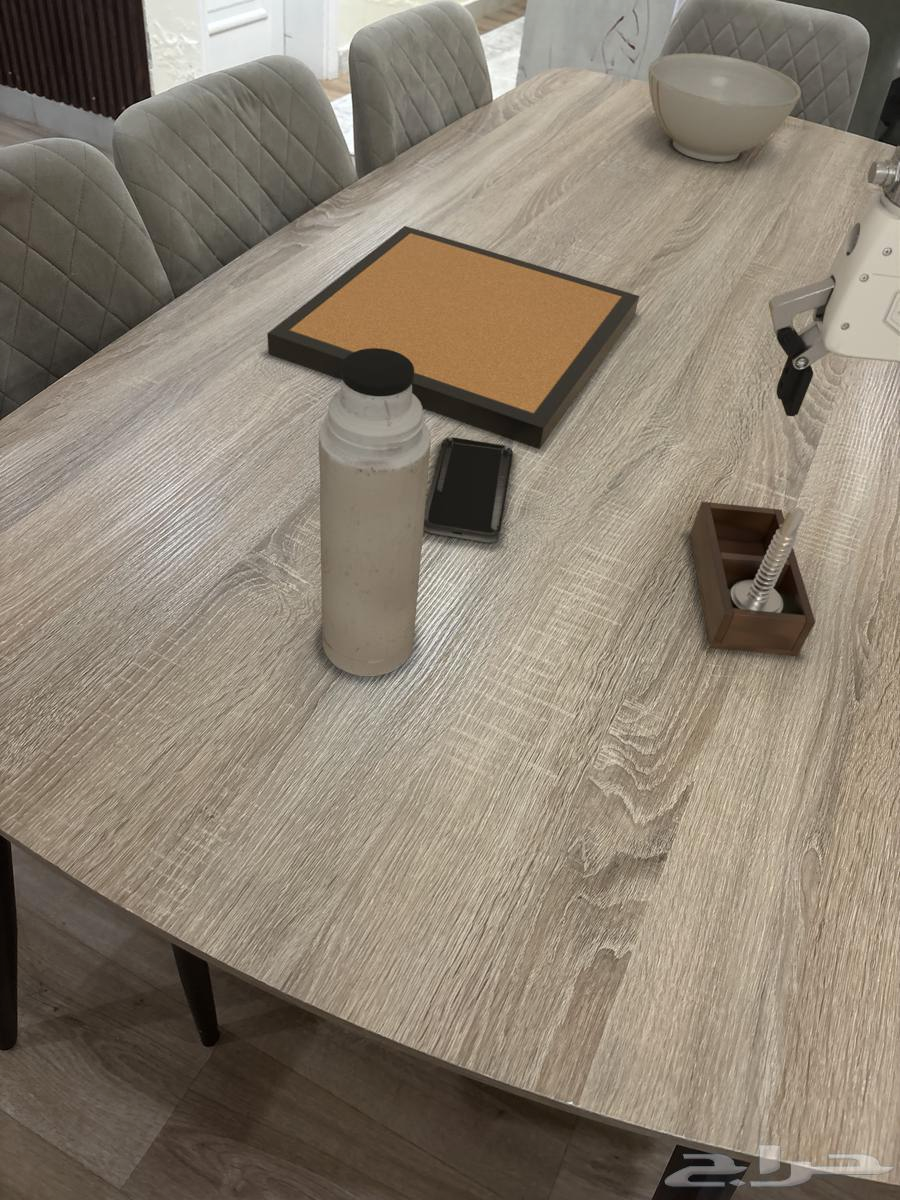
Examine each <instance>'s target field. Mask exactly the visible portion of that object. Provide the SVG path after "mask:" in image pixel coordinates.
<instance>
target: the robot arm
mask: <svg viewBox="0 0 900 1200" xmlns="http://www.w3.org/2000/svg"><path fill="white" fill-rule="evenodd" d="M895 147H896V148H895V150H894V153H893V155H892V157H891V158H890V159H886V160H885V159H884V161H882V160H873V161H872V163H871V164H870V166H869V169H868V173H867V183H868V184H872V185H873V184H874V185H878V186H879V187H880V188H882V190H881V191H879V190H877V191H874V192H872V194H871V195H870V196H869V198H868V199H867V201H866V202H865V204H864V206H863V207H862V209H861V210H860V211H859V213H858V215H857V217H856V218H855V220H854V221H853V224H852V225H851V227H850V228H849V230H848V232H847V234H846V235H845V238H844V239H843V241H842V244H841V245H840V248H839V249H838V251H837V253H836V255H835V257H834V259H833V261H832V263H831V266H830V268H829V269H828V272H827V274H826V277H825V278H824V279H823V280H820V281H817V282H813V283H812V284H808V285H805V286H802V287H799V288H795V289H792V290H791V291H788V292H784V293H781V294H779V295H776V296H773V297H772V298H770V300H768V301H769V302H768V309H769V312H770V317H771V322H772V327H773V332H774V335H775V337H776V340H777V342H778V344H779V345H780V347H781V348H782V350H783V351H784V353H785V354H786V356H787V358H786V361H785V363H784V367H783V369H782V371H781V374H780V376H779V380H778V383H777V386H776V396H777V398H778V400H780V401H781V404H782V407H783V409H784V413H785V416H786V417H796V416H798V415H799V413H800V410H801V407H802V405H803V403H804V400H805V397H806V394H807V392H808V390H809V387H810V384H811V382H812V379H813V377H814V370H813V368H812V365H813V364H815V363H816V362H818V361H819V360H820V359H821V358H824V357H825V356H826V355H828V354H829V353H830V354H833V355H835V356H838V357H842V358H849V359H858V360H869V361H878V362H879V361H882V362H892V363H900V145H897V146H895ZM811 310H813V311H812V320H813V321H811V322H810V323H809V324H807V325H806V326H804V327H803V328H802V329H800V330H798V331H797V330H796V328H794V325H793V324H794V323H793V320H794V318H795V317H796V316H797V315H799V314H802V313H805V312H808V311H811Z"/></svg>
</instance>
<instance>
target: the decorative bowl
mask: <svg viewBox="0 0 900 1200" xmlns="http://www.w3.org/2000/svg"><path fill="white" fill-rule="evenodd" d="M648 88H649V95H650V100H651V103H652V109H653V111H654V113H655V117H656V118H657V120H658V123H659V124H660V126H661V127H662V129H663V130H664V132H665V133H666V134H667V135H668V136H669V137H670V138H671V139H672V146H673V147H674V149H675V150H677V151H678V152H679V153H681V154H683V155H685V156H687V157H690V158H693V159H695V160H696V159H697V160H701V161H705V162H714V163H715V162H716V163H723V162H724V163H725V162H730V161H733V160H736V159H737V158H738V157H739V156H740V154H741V153H742V152H746V151H748V150H750V149H752V148H754V147H756V146H758V145H759V144H761V143H762V142H764V141H766V140H767V139H768V138H769V137H770V136H772V134H774V133H775V132H776V131H777V130H778V129H779V128H780V127H781V126H782V125H783V124H784V122H785V121H786V120H787V118H788V117H789V116H790V114H791V113H792V111H793V110H794V109H795V107H796V105H797V104H798V103H799V100H800V98H801V96H802V90H801V87H800V86H799V84H798V83H797V82H796V81H795V80H793V79H792V78H791V77H789V76H788V75H786V74H784V73H783V72H781V71H778V70H776V69H774V68H771V67H768V66H766V65H763V64H760V63H756V62H754V61H749V60H746V59H741V58H737V57H732V56H726V55H719V54H712V53H700V52H699V53H698V52H697V53H695V52H693V53H692V52H691V53H690V52H689V53H688V52H686V53H685V52H684V53H674V54H667V55H663V56H659V57H658V58H655V59H654V60H653V61H652V62H651V63H650V64H649V67H648Z"/></svg>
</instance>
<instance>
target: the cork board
mask: <svg viewBox="0 0 900 1200" xmlns="http://www.w3.org/2000/svg"><path fill="white" fill-rule="evenodd" d="M639 299H640V295H638V294H634V293H630V292H628V291H624V290H621V289H617V288H614V287H611V286H608V285H604V284H601V283H597V282H595V281H591V280H588V279H584V278H581V277H578V276H574V275H570V274H568V273H564V272H560V271H557V270H554V269H550V268H548V267H544V266H540V265H537V264H534V263H530V262H527V261H523V260H520V259H517V258H513V257H511V256H508V255H503V254H500V253H497V252H493V251H491V250H487V249H483V248H480V247H477V246H473V245H470V244H467V243H463V242H460V241H458V240H454V239H450V238H446V237H443V236H440V235H437V234H433V233H431V232H426V231H423V230H420V229H417V228H413V227H409V226H406V225H404V226H403V227H401V228H400V229H399V230H397V231H396V232H395V233H394V234H393V235H391V236H389V238H387V239H385V241H383V242H382V243H381V244H379V245H378V246H377V247H376V248H374V249H373V250H372V251H371V252H370V253H368V254H367V255H366V256H364V257H363V258H362V259H361V260H359V261H358V262H357V263H355V264H354V265H353V266H352V267H350V268H349V269H348V270H346V271H344V273H342V275H340V276H339V277H337V278H336V279H335V280H334V281H332V282H330V284H329V285H328V286H326V287H325V288H324V289H322V290H321V291H319V292H318V293H317V294H316V295H314V296H313V297H312V298H310V299H309V300H308V301H306V302H305V303H304V304H303V305H302V306H300V307H299V308H298V309H297V310H295V311H294V312H293V313H292V314H290V315H289V316H288V317H286V318H285V319H284V320H282V321H281V322H279V323H278V324H277V325H276V326H275V327H274V328H272V329H271V330H270V331H269V332H267V334H266V335H267V349H268V351H267V352H268V355H271V356H274V357H276V358H279V359H282V360H285V361H288V362H291V363H293V364H296V365H299V366H301V367H304V368H308V369H311V370H313V371H316V372H319V373H321V374H324V375H328V376H330V377H333V378H337V379H339V380H342V377H341V364H342V362H343V360H344V359H345V358H346V357H347V356H348V355H349V354H351V353H353V352H355V351H359V350H362V349H369V348H381V349H388V350H392V351H395V352H398V353H400V354H402V355H404V356H405V357H406V358H408V359H409V360H410V361H411V363H412V364H413V366H414V379H413V383H412V393H413V394H414V395H415V396H416V397H417V398H418V400H419V401H420V403H421V405H422V408H423V409H425V410H427V411H430V412H434V413H436V414H439V415H442V416H444V417H448V418H450V419H453V420H456V421H459V422H461V423H464V424H466V425H467V424H468V425H470V426H472V427H476V428H479V429H481V430H484V431H486V432H490V433H493V434H496V435H499V436H501V437H505V438H507V439H510V440H512V441H516V442H518V443H522V444H524V445H527V446H530V447H533V448H535V449H539V450H540V449H541V448H542V446H543V444H545V442H546V441H547V439H548V438H549V436H550V435H551V434H552V432H553V431H554V430H555V428H556V427H557V425H558V424H559V422H561V420H562V418H563V417H564V415H565V414H566V413H567V411H568V410H569V408H570V407H571V405H572V404H573V403H574V401H575V400H576V398H577V397H578V396H579V395H580V393H581V391H582V390H583V388H584V387H585V386H586V384H587V383H588V382H589V380H590V379H591V378H592V376H593V375H594V373H595V372H596V370H597V369H598V368H599V366H600V365H601V363H602V362H603V360H605V358H606V356H607V355H608V353H609V352H610V351H611V350H612V348H613V346H614V345H615V344H616V342H617V341H618V339H619V338H620V336H621V335H622V334H623V333H624V331H625V329H627V327H628V325H629V324H630V323H631V321H632V319H633V318H634V317H635V316H636V311H637V308H638V303H639Z"/></svg>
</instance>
